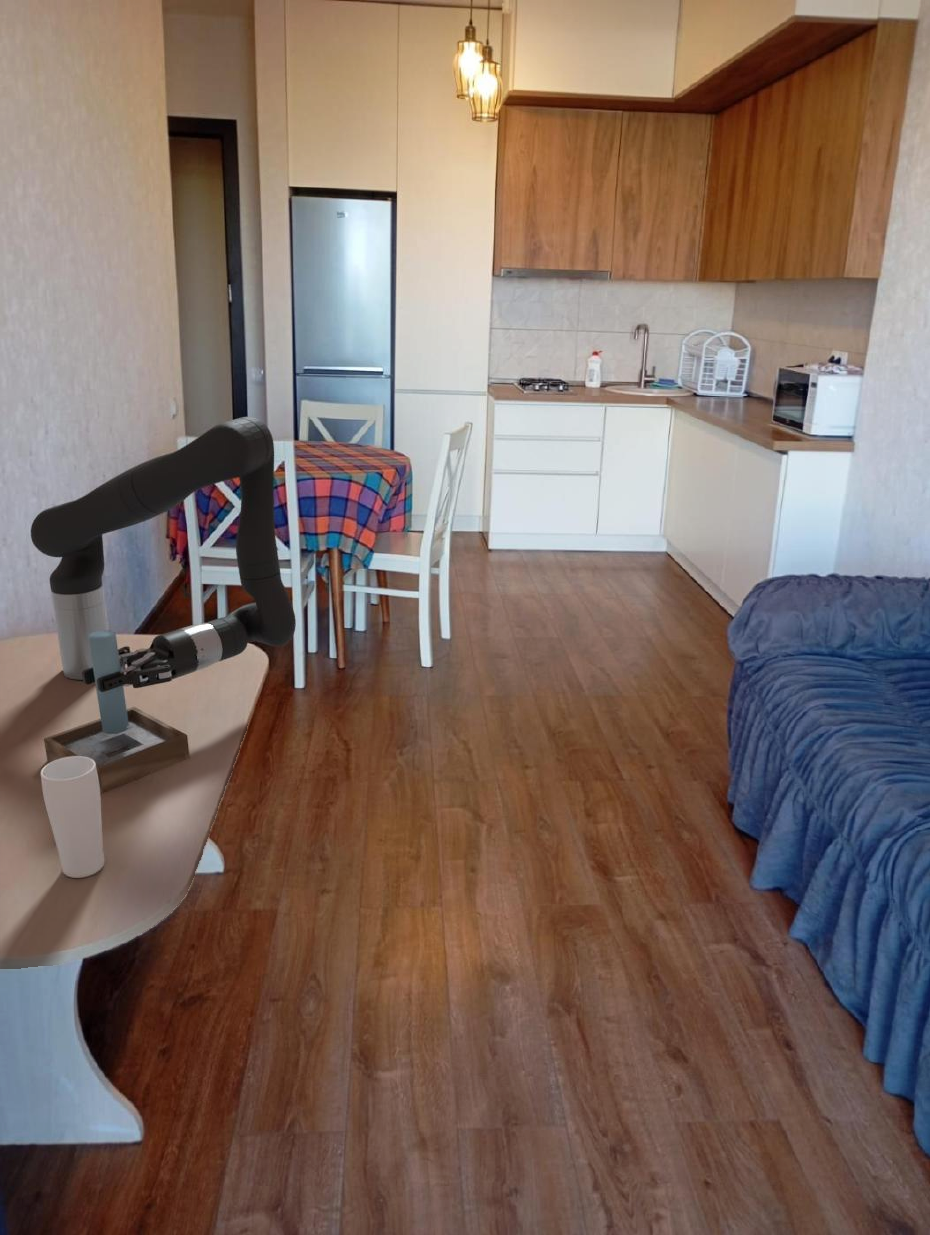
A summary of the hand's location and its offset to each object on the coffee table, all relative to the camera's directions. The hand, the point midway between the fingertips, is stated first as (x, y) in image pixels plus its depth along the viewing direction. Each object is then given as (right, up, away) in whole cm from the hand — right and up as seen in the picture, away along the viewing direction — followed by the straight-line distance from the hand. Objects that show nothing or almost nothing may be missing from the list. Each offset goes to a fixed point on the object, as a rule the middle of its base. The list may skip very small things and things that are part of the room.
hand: (91, 681), depth 154 cm
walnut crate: (+2, -13, +7) cm, 15 cm away
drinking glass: (+7, -23, -22) cm, 33 cm away
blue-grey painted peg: (+2, -8, +5) cm, 9 cm away
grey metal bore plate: (+2, -13, +7) cm, 15 cm away
